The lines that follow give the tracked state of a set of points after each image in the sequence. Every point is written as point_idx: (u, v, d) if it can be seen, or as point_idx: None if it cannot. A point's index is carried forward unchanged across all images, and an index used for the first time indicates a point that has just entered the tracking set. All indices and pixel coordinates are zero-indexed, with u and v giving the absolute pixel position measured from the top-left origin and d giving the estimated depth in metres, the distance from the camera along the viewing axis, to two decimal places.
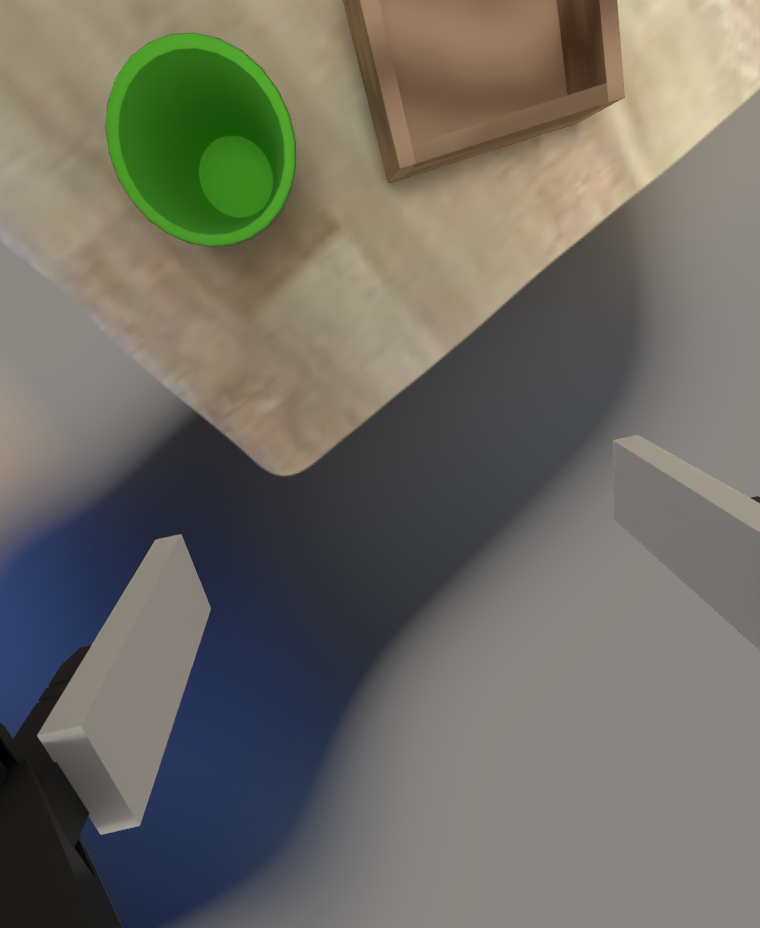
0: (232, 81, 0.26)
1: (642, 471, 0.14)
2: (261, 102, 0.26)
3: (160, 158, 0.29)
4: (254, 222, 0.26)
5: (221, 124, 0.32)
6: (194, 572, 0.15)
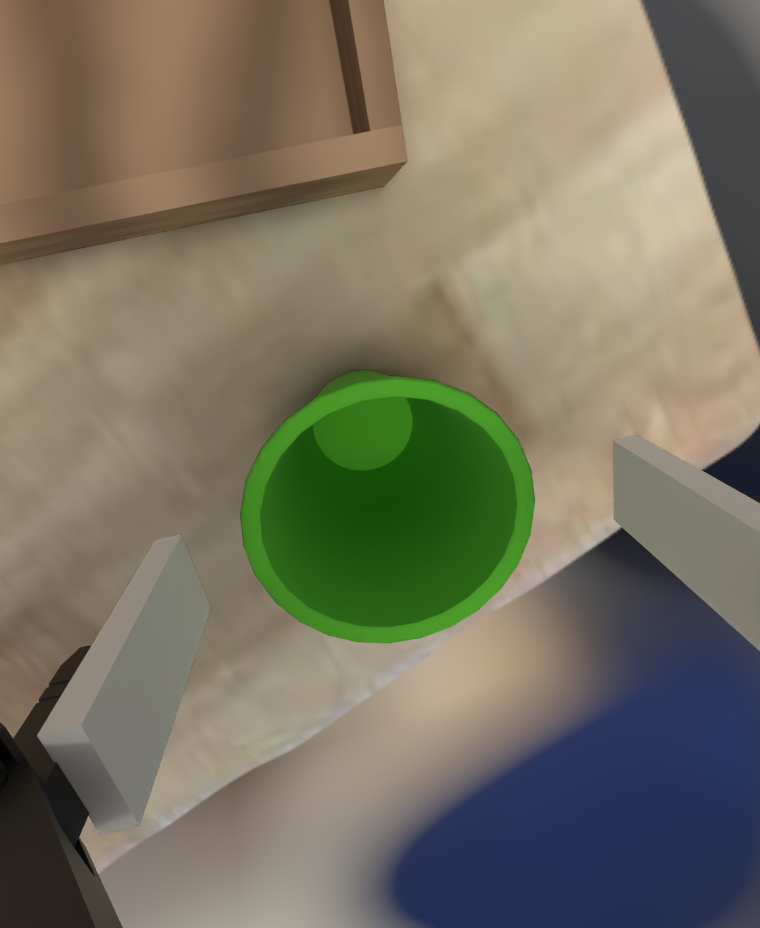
0: (287, 449, 0.17)
1: (642, 471, 0.14)
2: None
3: (365, 542, 0.21)
4: (509, 461, 0.15)
5: (307, 440, 0.23)
6: (194, 572, 0.15)
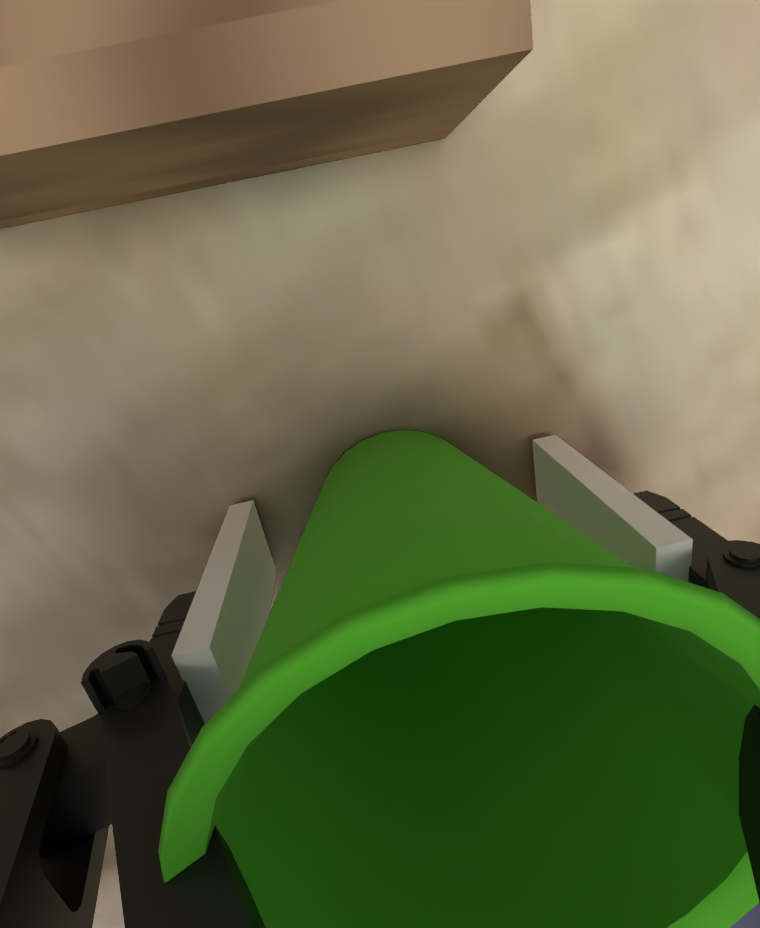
0: None
1: (552, 468, 0.15)
2: None
3: (413, 740, 0.12)
4: None
5: None
6: (263, 536, 0.16)
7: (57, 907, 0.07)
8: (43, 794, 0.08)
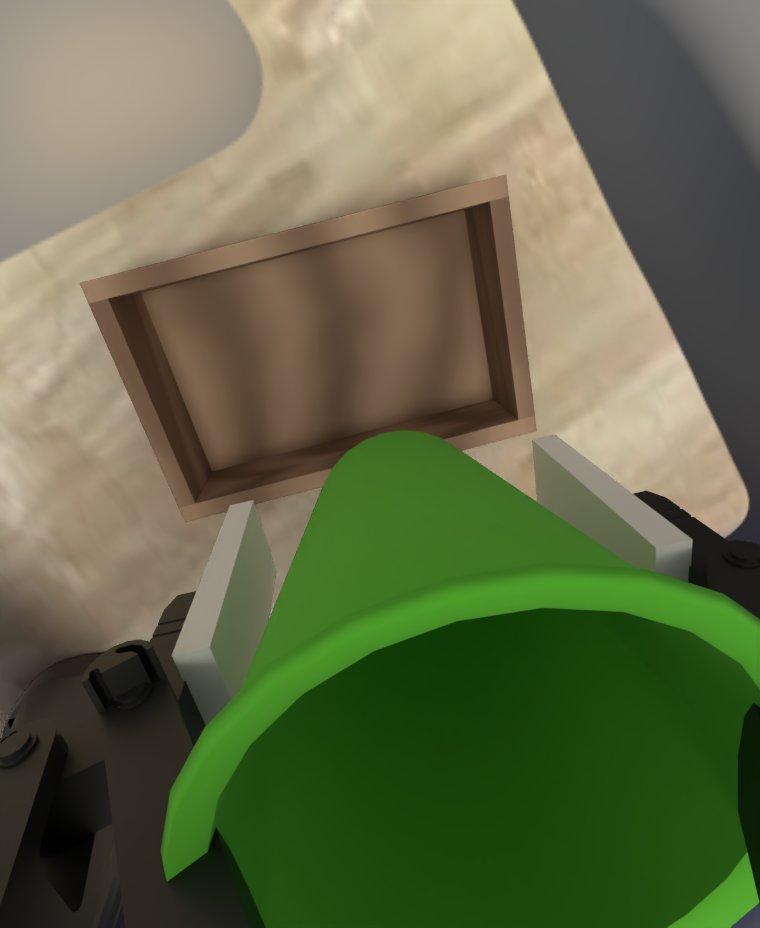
0: None
1: (552, 468, 0.15)
2: None
3: (414, 740, 0.12)
4: None
5: None
6: (263, 536, 0.16)
7: (57, 907, 0.07)
8: (44, 794, 0.08)
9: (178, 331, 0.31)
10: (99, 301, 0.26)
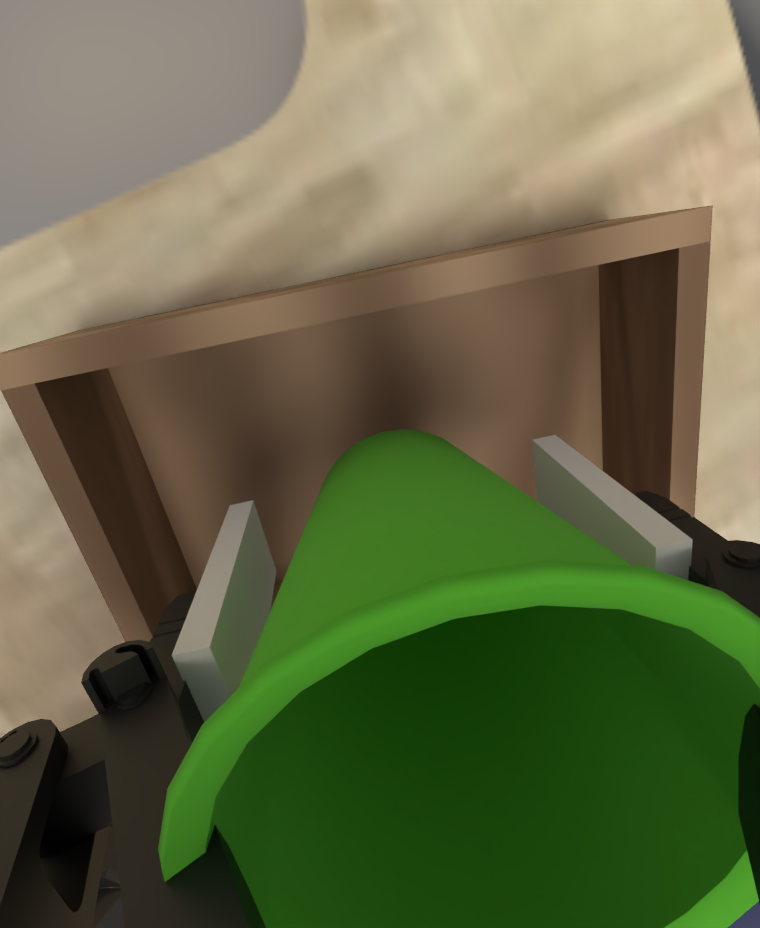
0: None
1: (552, 468, 0.15)
2: None
3: (413, 739, 0.12)
4: None
5: None
6: (263, 536, 0.16)
7: (58, 907, 0.07)
8: (44, 794, 0.08)
9: (158, 411, 0.21)
10: (20, 387, 0.15)
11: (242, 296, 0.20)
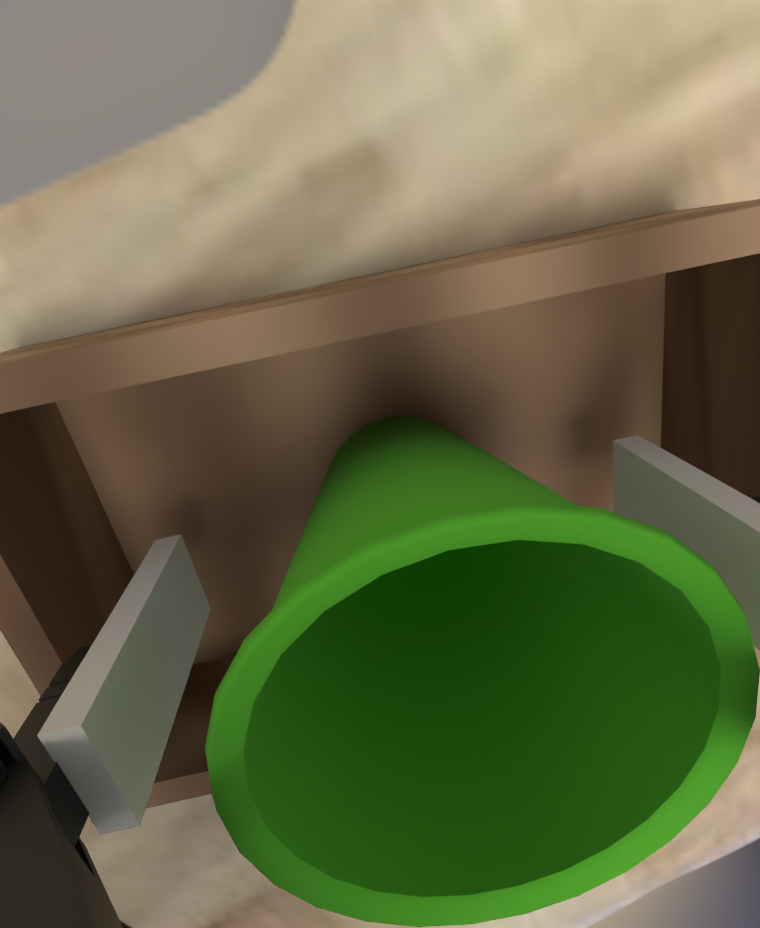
0: None
1: (642, 471, 0.14)
2: None
3: (413, 692, 0.14)
4: (719, 645, 0.08)
5: None
6: (194, 572, 0.15)
7: None
8: None
9: (118, 448, 0.17)
10: None
11: None
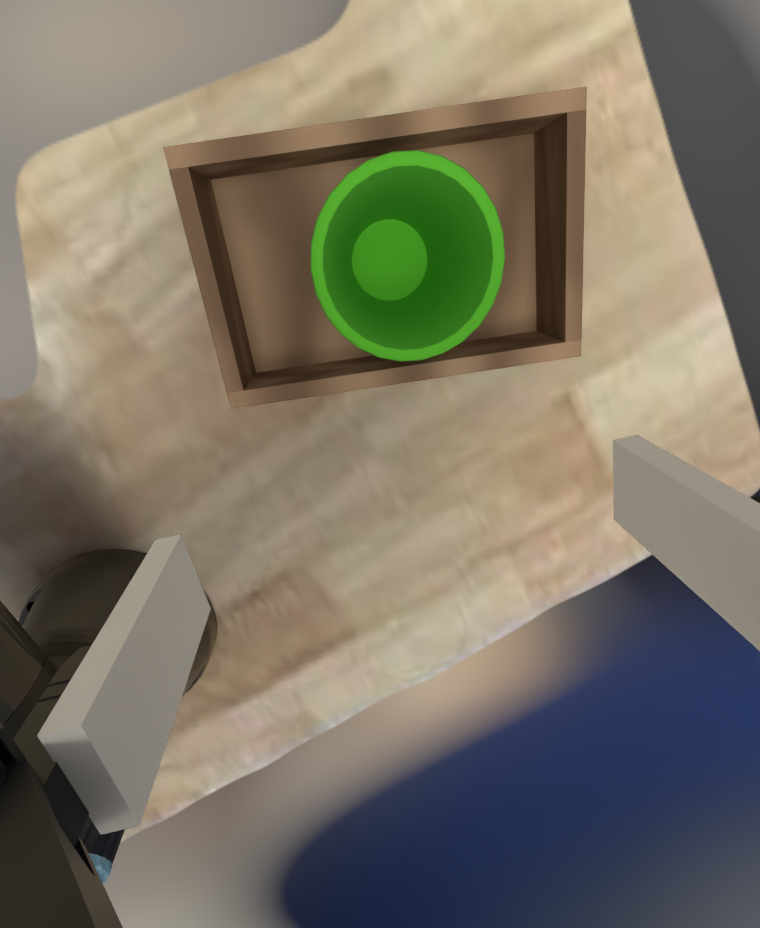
0: (340, 221, 0.25)
1: (642, 471, 0.14)
2: (364, 191, 0.24)
3: (386, 323, 0.29)
4: (489, 224, 0.23)
5: (348, 260, 0.31)
6: (194, 572, 0.15)
7: None
8: None
9: (242, 224, 0.32)
10: (179, 168, 0.26)
11: None
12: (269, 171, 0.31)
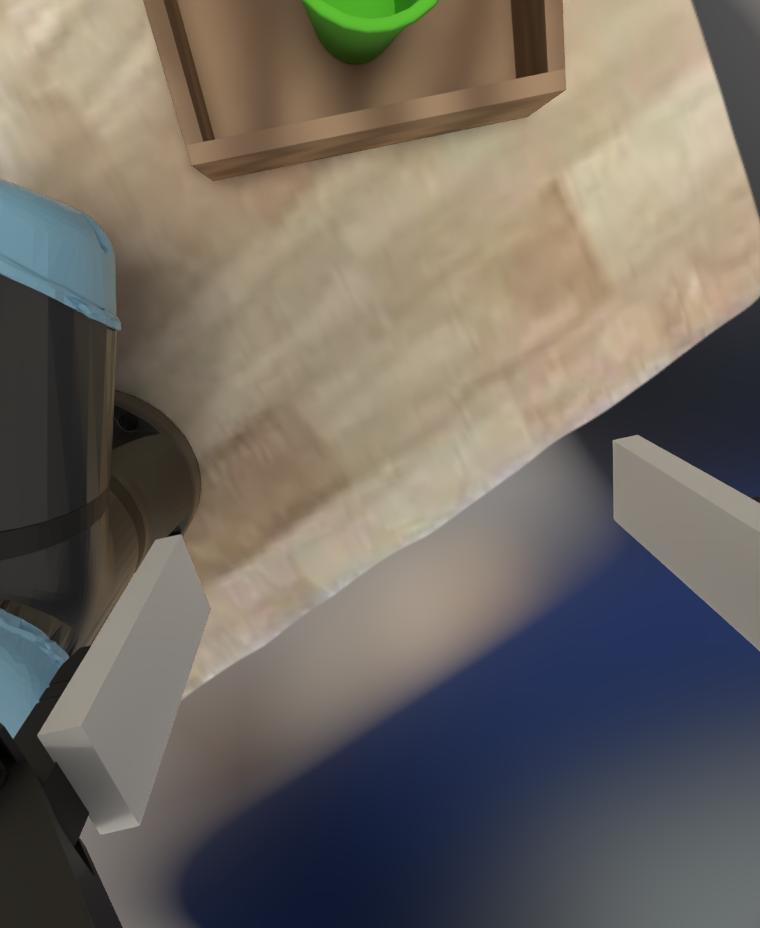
0: None
1: (641, 471, 0.14)
2: None
3: None
4: None
5: None
6: (194, 572, 0.15)
7: None
8: None
9: None
10: None
11: None
12: None
